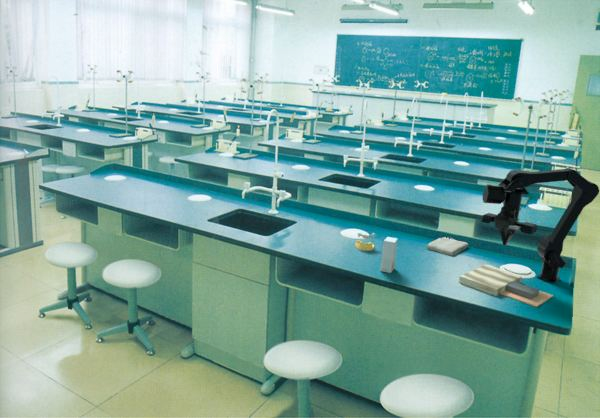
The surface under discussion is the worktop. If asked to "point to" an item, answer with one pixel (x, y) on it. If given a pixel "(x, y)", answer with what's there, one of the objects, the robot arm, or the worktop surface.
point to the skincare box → (388, 254)
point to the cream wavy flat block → (489, 279)
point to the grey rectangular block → (522, 290)
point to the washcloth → (447, 246)
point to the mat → (534, 302)
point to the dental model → (365, 246)
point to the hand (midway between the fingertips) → (504, 245)
